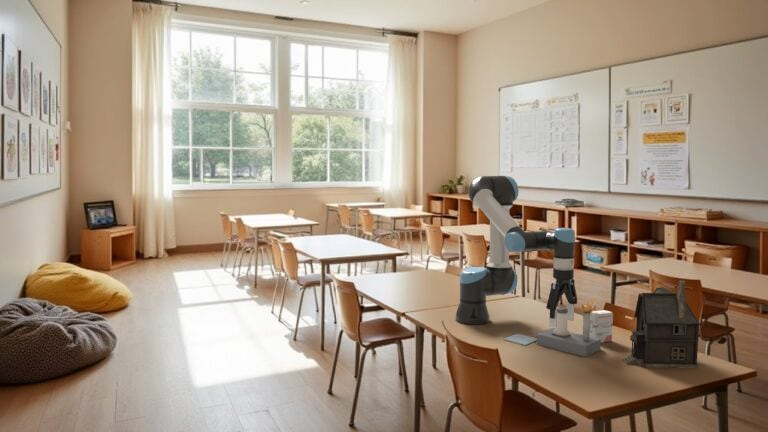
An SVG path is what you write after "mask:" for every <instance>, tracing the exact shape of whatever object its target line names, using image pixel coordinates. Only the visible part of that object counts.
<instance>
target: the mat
mask: <svg viewBox="0 0 768 432" xmlns="http://www.w3.org/2000/svg"><path fill="white" fill-rule="evenodd" d="M503 341H506V342H507V341H508V342H510V343H515V344H518V345H522V346H528V345H531V344H532V343H536V342H537V337H536V338H535V337H532V336H528V335H524V334H520V333H516V334H513V335H509V336H507V337H504V338H503Z"/></svg>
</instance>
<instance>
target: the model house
mask: <svg viewBox="0 0 768 432" xmlns="http://www.w3.org/2000/svg"><path fill="white" fill-rule="evenodd" d="M685 283H686V281H685V280H678V289H677V292H675V291H672V290H671V289H668V288H667V287H663V286H661V287H656V288H655V290H654V291H653V292H641V293H639V292H638V296H637V301H636V306H635V311H634V316H633V317H634V318H636V321H635V322H636V328H635V331H631V333H632V334H631V335H630V336H629V340H630V341H631V354H629V356H628V355H627V356H626V357H624V358H622V359H621V360H622V361H623V363H624V364H626V365H634V366H643V367H644V368H673V369H675V368H683V369H685V368H687V369H689V368H690V369H691V368H692V369H698V366H699V365H698V353H699V352H698V350H699V342H700V340H699V333H700V331H699V330H700V325H701V324H702V323H700V322H699V320H698V319H697V317H696V315H695V314H694V312H693V311H692V309H691V307H690V306H689V305H688V303H687V296H686V295H687V294H686V291H685Z"/></svg>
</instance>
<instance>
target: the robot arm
mask: <svg viewBox="0 0 768 432" xmlns="http://www.w3.org/2000/svg"><path fill="white" fill-rule="evenodd" d="M518 185H519V184H518V183H517V181H516V180H515V179H514V178H513V177H512V176H510V175H509V176H508V175H507V176H506V175H481V176H478V177H475V178H474V179H472V181H471V182H470V184H469V186H468V189H467V190H468V191H467V193H468V198H469V200H470V201H471V203H472V205H473V206H474V207H476V208H477V209H480V210H481V212H482V213H483V214H484V215H485V216H486V218H488V220H489V261H488V262H487V264H486V266H485V267H482V266H472V267H466V268H464V269H463V270H461V272H460V274H459V275H460V276H459V305H458V307H457V309H456V313H455V321H457V322H458V323H463V324H465V325H466V324H467V325H483V324H487V323H489V322H490V320H491V319H490V317H491V316H490V314H489V309H488V306H487V297H489V296H499V295H502V296H504V295H508V294H511V293H514V291H515V290H516V288H517V286H518V279H519V277H518V274H517V272H516V270H515V269H514V268H513V265H512V263H510V252H515V253H521V252H531V251H551V252H553V270H552V271H553V272H552V277H553V279H555V283H554V282H551V284H550V292H549V294H548V295H549V296H548V299H547V303H546V309H547V310H549V322H548V323H549V325H548V326H549V327H552V328H556V327H557V310H556V309H557V308H558V305H559V303H560V300H561V298H562V296H563V295H564V296H565V298H566V301H567V303H566V309H568V321H571V322H574V320H575V319H574V318H575V305H577V304H578V297H577V296H578V294H577V290H576V286H575V284H576V283H575V282H576V281H575V279H574V274H575V270H574V267H575V249H576V248H575V246H576V244H575V242H576V236H575V234H576V232H575V230H574V229H573V228H570V227H568V228H567V227H556V228H555V229H554V231H550V230H546V229H537V230H536V231H525V230H524V229H523V228H522V226H520V224H519V223H518V222H516V220H515V219H514V218H513V217H512V216H511V214H510V209H511V208H512V207H514V202H515V201H517V199H518V197H519V186H518Z"/></svg>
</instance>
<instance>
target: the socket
mask: <svg viewBox="0 0 768 432" xmlns="http://www.w3.org/2000/svg"><path fill="white" fill-rule="evenodd" d="M582 316H583V317H582V320H583V321H582V334H580V333H576V332H573V331H569V332H570V334H569V336H567V337H565V338H563V337H559V336H556V335H555V334H553V330H555V329H556V327H552V328H549V329H546V330H544V331H541V332H538V333H537V334H536V338H537V341H536V345H540V346H544V347H546V346H547V348H550V347H551V349H553V350H557V351H558V350H559V351H562V352H566V353H569V354H574V355H578V356H581V357H584V358H585V357H588V356H590V355H592V354H595V353H596V352H598V351H600V350H601V347H602V346H601V345H602V344H601V339H598V338H594V337H590V336H589V334H590V313H583V312H582Z"/></svg>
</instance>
